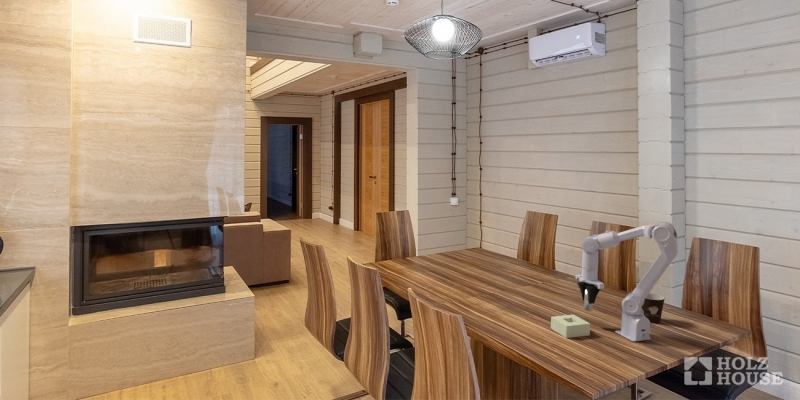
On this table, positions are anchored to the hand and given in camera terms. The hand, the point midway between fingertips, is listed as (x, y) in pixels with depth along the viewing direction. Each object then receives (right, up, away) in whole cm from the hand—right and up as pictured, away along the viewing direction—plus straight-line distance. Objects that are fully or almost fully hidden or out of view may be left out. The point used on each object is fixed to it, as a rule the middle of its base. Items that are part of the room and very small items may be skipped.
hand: (588, 301), depth 179 cm
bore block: (-9, -10, -4) cm, 14 cm away
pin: (0, -3, 0) cm, 3 cm away
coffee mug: (+27, -9, +8) cm, 30 cm away
